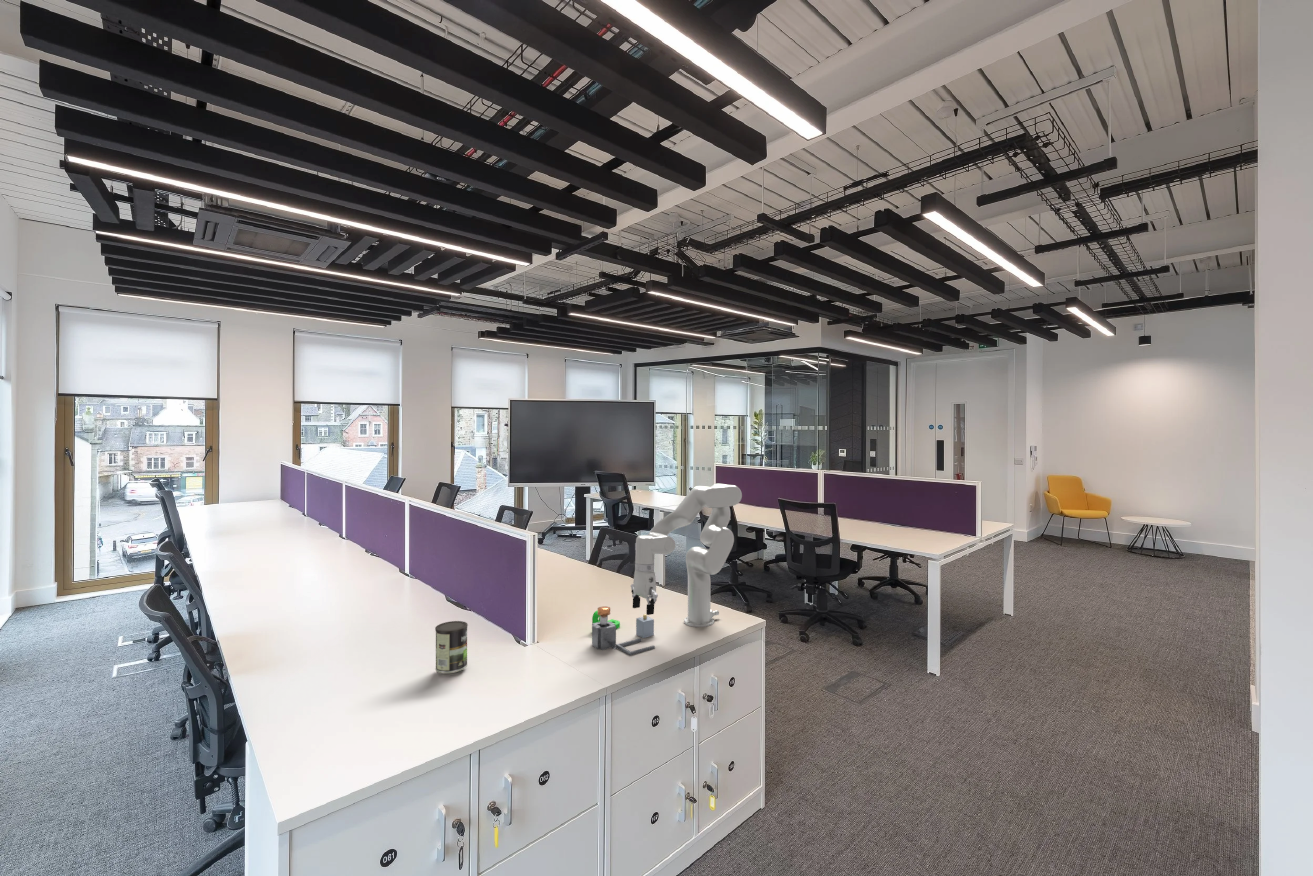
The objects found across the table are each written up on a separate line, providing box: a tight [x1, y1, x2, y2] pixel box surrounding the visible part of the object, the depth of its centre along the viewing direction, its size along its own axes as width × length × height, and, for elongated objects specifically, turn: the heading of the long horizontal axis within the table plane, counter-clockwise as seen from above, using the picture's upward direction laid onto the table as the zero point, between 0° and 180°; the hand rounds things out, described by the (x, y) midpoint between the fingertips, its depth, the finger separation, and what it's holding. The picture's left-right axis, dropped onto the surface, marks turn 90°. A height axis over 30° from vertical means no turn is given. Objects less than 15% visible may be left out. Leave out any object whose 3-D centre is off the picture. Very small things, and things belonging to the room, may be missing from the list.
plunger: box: [597, 606, 611, 627], centre depth 202 cm, size 5×5×8 cm
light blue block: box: [635, 613, 655, 639], centre depth 212 cm, size 5×5×8 cm
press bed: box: [611, 637, 656, 657], centre depth 199 cm, size 13×12×2 cm
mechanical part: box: [591, 609, 621, 630], centre depth 220 cm, size 12×6×8 cm, turn 143°
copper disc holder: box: [591, 622, 617, 651], centre depth 202 cm, size 8×8×8 cm
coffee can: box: [434, 620, 469, 674], centre depth 183 cm, size 10×10×14 cm
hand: (643, 611), depth 212 cm, fingers open, 9 cm apart
